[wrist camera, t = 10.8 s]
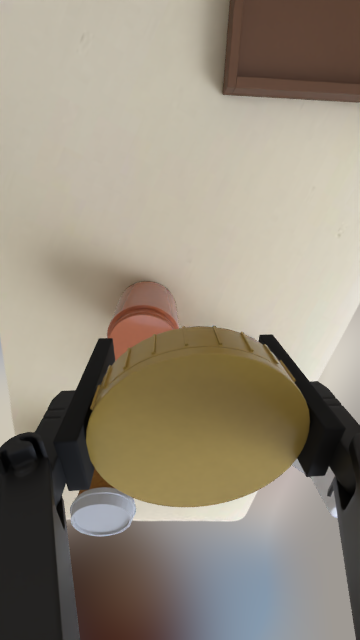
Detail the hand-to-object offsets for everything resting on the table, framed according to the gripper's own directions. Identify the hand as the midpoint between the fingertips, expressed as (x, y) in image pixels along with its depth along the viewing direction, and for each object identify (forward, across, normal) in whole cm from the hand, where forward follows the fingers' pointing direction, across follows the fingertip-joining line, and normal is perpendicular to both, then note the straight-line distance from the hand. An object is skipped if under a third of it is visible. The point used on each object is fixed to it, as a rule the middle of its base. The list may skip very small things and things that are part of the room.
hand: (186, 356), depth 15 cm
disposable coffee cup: (+20, -11, -34) cm, 40 cm away
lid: (-5, 0, 0) cm, 5 cm away
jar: (+20, -4, -6) cm, 21 cm away
